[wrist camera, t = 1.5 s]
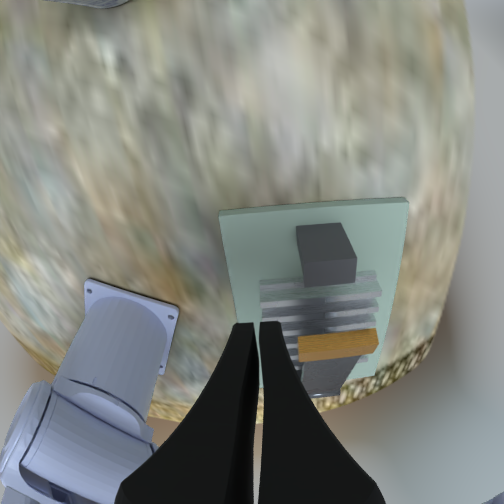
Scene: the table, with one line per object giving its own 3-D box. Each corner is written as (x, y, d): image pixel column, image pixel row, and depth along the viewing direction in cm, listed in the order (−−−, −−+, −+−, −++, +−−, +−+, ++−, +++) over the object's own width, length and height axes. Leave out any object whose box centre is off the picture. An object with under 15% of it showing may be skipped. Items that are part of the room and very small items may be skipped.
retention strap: (339, 385, 25) (341, 396, 25) (294, 390, 26) (295, 401, 25) (375, 324, 15) (379, 343, 14) (297, 332, 15) (299, 353, 15)
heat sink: (361, 345, 25) (366, 363, 24) (268, 355, 26) (268, 374, 24) (374, 269, 21) (382, 287, 19) (259, 280, 22) (259, 299, 20)
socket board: (372, 369, 28) (383, 408, 24) (251, 381, 29) (250, 423, 25) (404, 197, 19) (437, 233, 15) (219, 210, 20) (209, 251, 16)
